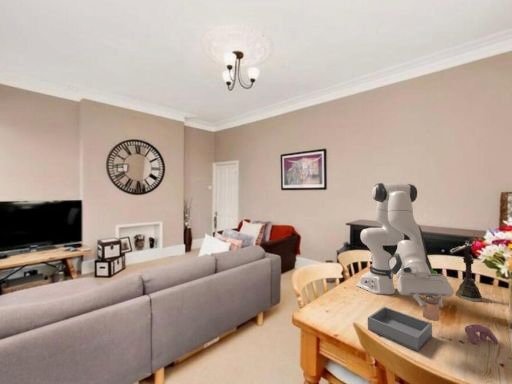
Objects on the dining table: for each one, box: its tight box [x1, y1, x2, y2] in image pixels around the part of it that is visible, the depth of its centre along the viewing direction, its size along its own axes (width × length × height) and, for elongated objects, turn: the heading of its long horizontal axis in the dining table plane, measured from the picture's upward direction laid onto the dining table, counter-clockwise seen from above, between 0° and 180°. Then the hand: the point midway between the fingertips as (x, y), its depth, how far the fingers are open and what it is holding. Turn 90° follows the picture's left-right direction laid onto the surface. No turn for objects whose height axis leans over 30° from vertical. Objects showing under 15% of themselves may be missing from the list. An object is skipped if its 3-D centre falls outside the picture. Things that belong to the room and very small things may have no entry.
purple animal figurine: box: [464, 323, 499, 345], centre depth 102 cm, size 10×5×7 cm, turn 89°
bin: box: [367, 306, 433, 353], centre depth 108 cm, size 20×16×6 cm
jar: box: [422, 296, 440, 322], centre depth 98 cm, size 5×5×8 cm
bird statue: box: [449, 237, 483, 303], centre depth 143 cm, size 17×13×35 cm
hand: (431, 306), depth 97 cm, fingers closed on jar, 5 cm apart
